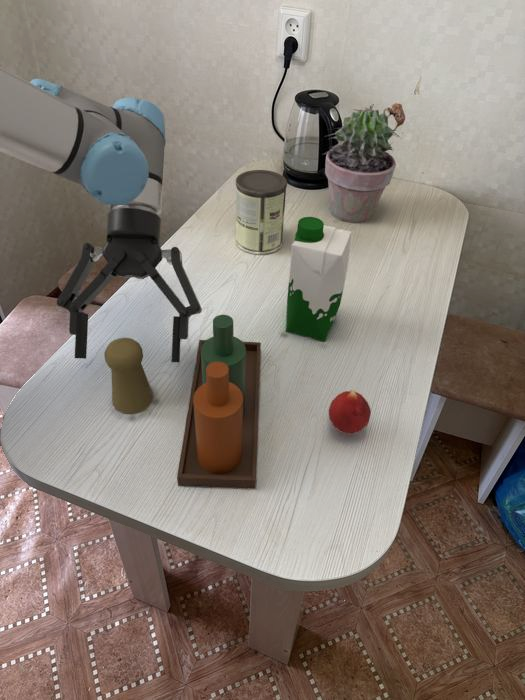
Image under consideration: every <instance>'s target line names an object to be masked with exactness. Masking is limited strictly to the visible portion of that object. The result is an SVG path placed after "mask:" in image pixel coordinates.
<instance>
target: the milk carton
mask: <svg viewBox="0 0 525 700" xmlns="http://www.w3.org/2000/svg"><path fill="white" fill-rule="evenodd" d="M296 228H297V229H296V232H295V235H294V239H293V240H292V244H291V251H290V252H291V253H290V254H291V255H290V266H289V274H288V275H289V276H288V288H287V296H286V297H287V298H286V321H285V332H286V333H289V334H292V335H293V334H294V335H297V336H301V337H305V338H310V339H313V340H318V341H321V342H326V340H327V338H328V335H329V333H330V331H331V328H332V326H333V324H334V322H335V319H336V318H337V315H338V312H339V309H340V306H341V303H342V297H343V292H344V287H345V283H346V278H347V277H346V276H347V271H348V266H349V259H350V251H351V249H350V248H351V241H352V231H350V230H345V229H341V228H337V227H336V226H332V225H325V224H324V221H322V219H320V218H318V217H316V216H315V217H314V216H304V217H301V218H299V219H298V221H297V227H296Z"/></svg>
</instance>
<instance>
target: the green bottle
mask: <svg viewBox="0 0 525 700" xmlns="http://www.w3.org/2000/svg"><path fill="white" fill-rule="evenodd" d="M205 340H206V341H205V342H204V343H203V345H202V347H201V363H202V380H203V384H204V383H207V381H206V368H207V366H208V365H209V364H210V363H212V362H223V363H225V364H226V365H227V366H228V368H229V382H231V383H233V384H235V385H236V386H237V387H238V388H239V389H240V390H241V392H242V395H243V412H244V406H245V370H246V347H245V345H244V343H243V342H244V341H242V340H241V339H240V338H238V337H236V336H234V318H233V317H232V316H230V315H228V314H218V315H216V316H214V318H213V319H212V336H211V337H209V338H208V339H205Z"/></svg>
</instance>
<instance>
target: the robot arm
mask: <svg viewBox="0 0 525 700" xmlns="http://www.w3.org/2000/svg"><path fill="white" fill-rule="evenodd" d="M166 142H167V141H166V121H165V116H164V112H163V111H162V110H161V109H160V107H159V106H158V105H156V104H155V103H153V102H151V101H150V100H146V99H138V98H137V97H124V98H120V99H118V100H116V101H115V103H114V104H113V106H112V107H111V106H108V105H106V104H103V103H101V102H100V101H99V102H98V101H97V100H94V99H92V98H89V97H87V96H85V95H83V94H80V93H78V92H75V91H73V90H71V89H68V88H66V87H64V86H62V84H59V83H57V84H56V83H54V82H51V81H47V80H44V79H41V78H34V79H32V80H29V81H28V80H26V79H24V78H22V77H20V76H18V75H16V74H14V73H13V72H10V71H9V70H7V69H5V68H3V67H1V66H0V153H2V154H5V155H7V156H9V157H10V156H11V157H12V158H15V159H18V160H20V161H22V162H25V163H27V164H29V165H32V166H34V167H37V168H40V169H42V170H44V171H47V172H49V173H53V174H54V175H56V176H58V177H60V178H63V179H66V180H68V181H71V182H73V183H76V184H78V185H80V186H82V187H83V189H84V190H85V191H86V192H87V193H88V194H89V195H90V196H91V197H93V198H95V199H96V200H97V201H98V202H100V203H102V204H105V205H107V207H108V209H109V210H110V211H109V212H108V213H107V217H106V218H107V219H106V242H105V244H104V246H99V245H92V244H91V243H89V242H85V243H83V245H82V249H81V255H80V258H79V261H78V263H77V264H76V266H75V268H74V269H73V271H72V273H71V274H70V277H69V278H68V280H67V282H66V284H65V285H64V287H63V289H62V291H61V292H60V294H59V296H58V298H57V300H56V305H57V306H58V307H59V308H63V309H65V310H67V311H68V312H69V326H68V327H69V329H68V331H69V334H70V335H72V336H73V335H74V336H75V340H74V341H75V342H74V359H80V360H81V359H84V360H85V359H87V351H88V329H89V314H88V313H87V312H86V313H85V312H84V311H85V310H86V309H87V308H88V307H89V305H90V304H91V303H92V302H93V301H94V300H95V299H96V298H97V297H98V296H99V295H100V294H101V293H102V291H104V289H105V288H106V287H107V286H108V285H109V284H110V283H111V282H113V281H114V280H115V279H117V277H120V278H122V279H132V278H135V279H137V280H145V279H146V278H148V277H150V278H151V280H152V281H153V282H154V283H155V285H156V286H157V288H158V289H159V290H160V291H161V292H162V294H163V295H164V297H165V298H166V299H167V301H168V302H169V303H170V304H171V305H172V307H173V308H174V309H175V311H176V312H177V313H178V316H177V315H176V316H175V315H174V316H173V317H172V318H173V319H172V339H171V340H172V341H171V342H172V343H171V361H170V362H171V363H180V360H181V340H187V339H188V338H189V325H190V324H189V322H190V318H191V317H192V316H194V315H198V314H200V313H202V311H203V308H202V306H201V303H200V302H199V299H198V297H197V295H196V292H195V290H194V287H193V286H192V284H191V281H190V279H189V277H188V275H187V272H186V270H185V268H184V266H183V254H182V252H181V250H180V249H179V248H178V247H177V246H173V247H171V248H169V249H162V248H161V232H162V218H161V217H160V216H159V215H161V214H162V210H163V209H162V208H163V181H164V166H165V165H164V163H165V146H166ZM102 256H103V257H104V259H105V261H106V262H107V263H106V264H105V265H104V266H103V267H102V268H101V269H100V271H99V273H98V274H97V276H95V278H93V279H92V281H91V282H90V283H89V284H88V285H87V286H86V287H84V289H83V290H82V291H81V289H82V287H83V285H84V284H85V282H86V280H87V278H88V277H89V274H90V273H91V271H92V269H93V268H94V265H95V262H98V261H99V260H100V258H101V257H102ZM163 259H165V260H166V262H167V263H168V264H169V265H171V266H172V268H173V271H174V272H175V275H176V277H177V280H178V282H179V284H180V286H181V288H182V291H183V293H184V295H185V297H186V299H187V302H188V304H189V305H188V306H185V304H184V303H183V301H182V300H181V299H180V298H179V297H178V296H177V294H176V293H175V292H174V291H173V289H172V287H170V285H169V284H168V283H167V282H166V280H165V279H164V277H163V276H162V275H161V273H160V272H159V271H158V269H157V267H158V266H159V264H160V263H161V262H162V260H163ZM80 291H81V292H80ZM79 292H80V293H79ZM78 294H79V295H78Z"/></svg>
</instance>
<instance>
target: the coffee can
mask: <svg viewBox="0 0 525 700" xmlns="http://www.w3.org/2000/svg"><path fill="white" fill-rule="evenodd" d="M287 187H288V180H287V179H286V177H285V176H284V175H282V174H280V173H278V172H276V171H272V170H267V169H253V170H252V169H251V170H247V171H243V172H242V173H240V174H239V175H237V177H236V178H235V195H236V196H235V198H236V199H235V211H236V212H235V227H236V228H235V231H236V232H235V245H236V246H237V247H238V248H239V249H240V250H241V251H243V252H245V253H248V254H252V255H259V256H260V255H269V254H273V253H276V252H278V251H279V250H280V249H281V248H282V246H283V234H284V221H285V210H286V209H285V208H286V197H287Z"/></svg>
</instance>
